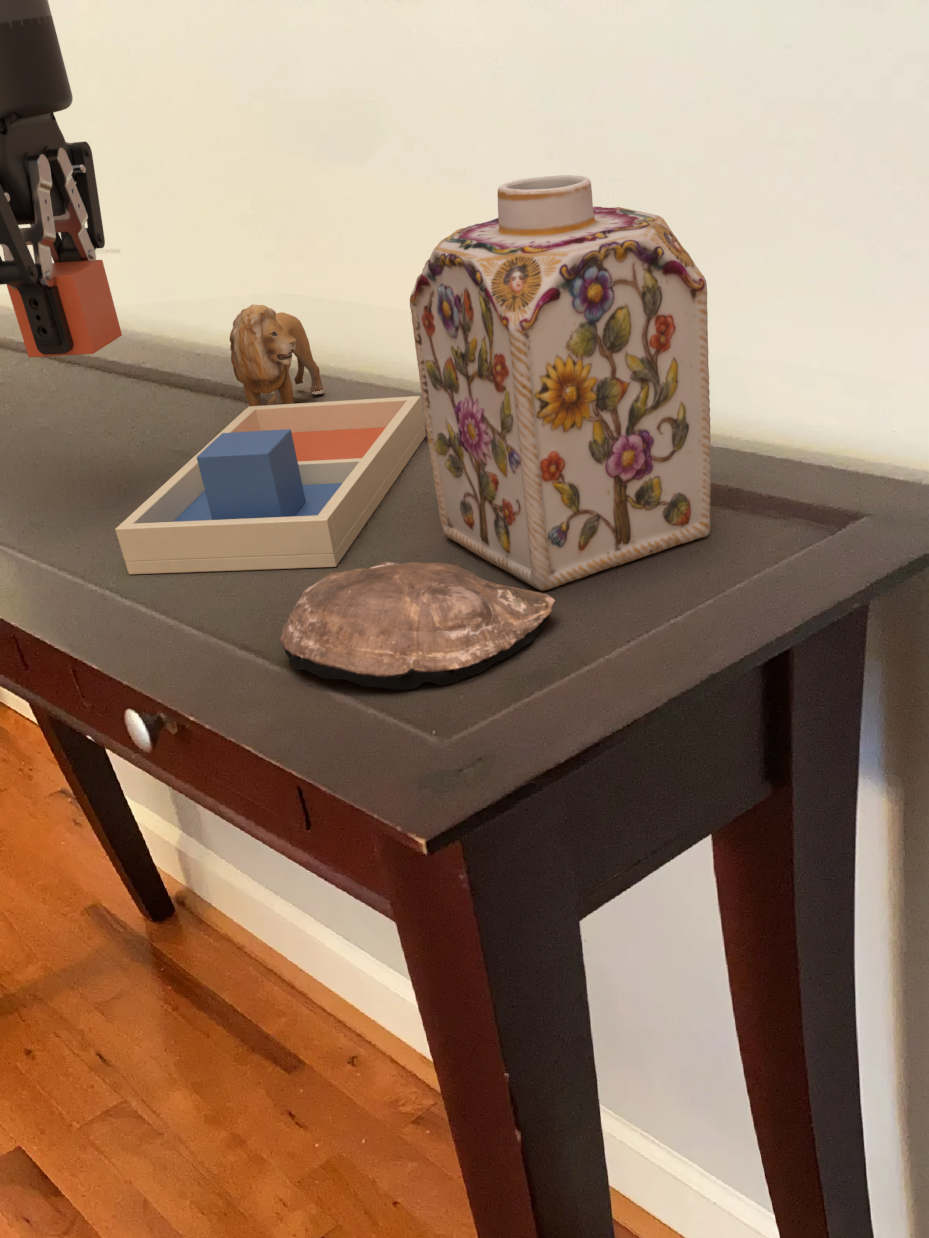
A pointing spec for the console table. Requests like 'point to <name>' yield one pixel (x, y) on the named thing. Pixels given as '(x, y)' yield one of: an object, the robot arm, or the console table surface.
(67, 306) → the terracotta block
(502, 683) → the console table surface
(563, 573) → the decorative jar
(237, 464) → the blue block
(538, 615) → the shell
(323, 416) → the sorting tray
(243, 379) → the lion figurine
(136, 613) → the console table surface
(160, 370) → the console table surface
